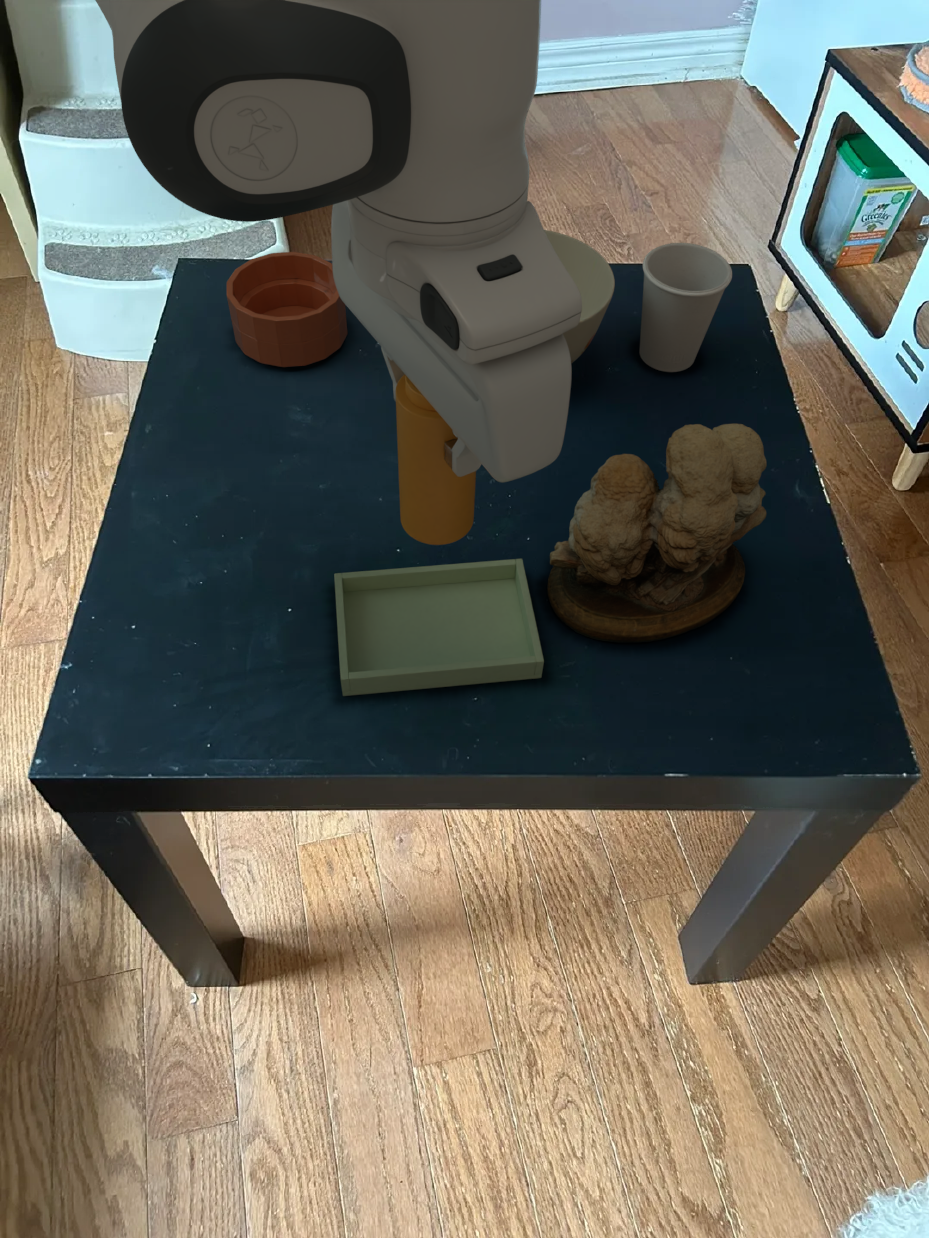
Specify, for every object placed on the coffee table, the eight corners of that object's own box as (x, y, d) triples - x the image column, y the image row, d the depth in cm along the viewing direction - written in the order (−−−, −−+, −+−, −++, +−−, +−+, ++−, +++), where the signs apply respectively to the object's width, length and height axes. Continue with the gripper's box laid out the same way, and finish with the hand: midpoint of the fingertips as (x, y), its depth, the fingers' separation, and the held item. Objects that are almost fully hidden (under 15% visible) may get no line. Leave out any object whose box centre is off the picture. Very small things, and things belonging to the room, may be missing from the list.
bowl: (547, 440, 90) (558, 352, 82) (408, 375, 95) (406, 287, 87) (627, 352, 98) (645, 264, 90) (496, 297, 103) (501, 209, 95)
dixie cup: (623, 327, 101) (640, 239, 93) (703, 330, 101) (727, 243, 93) (628, 378, 96) (646, 291, 88) (712, 383, 96) (738, 295, 88)
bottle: (423, 555, 64) (420, 365, 51) (387, 507, 66) (376, 315, 54) (487, 528, 65) (500, 337, 53) (450, 482, 68) (454, 289, 55)
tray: (342, 696, 73) (340, 679, 71) (336, 591, 79) (334, 573, 77) (541, 678, 74) (544, 661, 72) (520, 576, 80) (522, 558, 78)
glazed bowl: (263, 385, 94) (254, 333, 89) (219, 323, 99) (208, 271, 95) (366, 350, 97) (363, 298, 93) (318, 292, 103) (312, 240, 98)
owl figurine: (705, 504, 86) (756, 346, 72) (779, 602, 79) (852, 448, 66) (520, 561, 81) (539, 403, 67) (584, 669, 75) (618, 519, 61)
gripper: (292, 152, 53) (317, 358, 64) (489, 359, 43) (477, 562, 54) (394, 125, 55) (400, 329, 66) (605, 317, 45) (571, 521, 56)
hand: (436, 435), depth 60 cm, fingers closed on bottle, 5 cm apart
